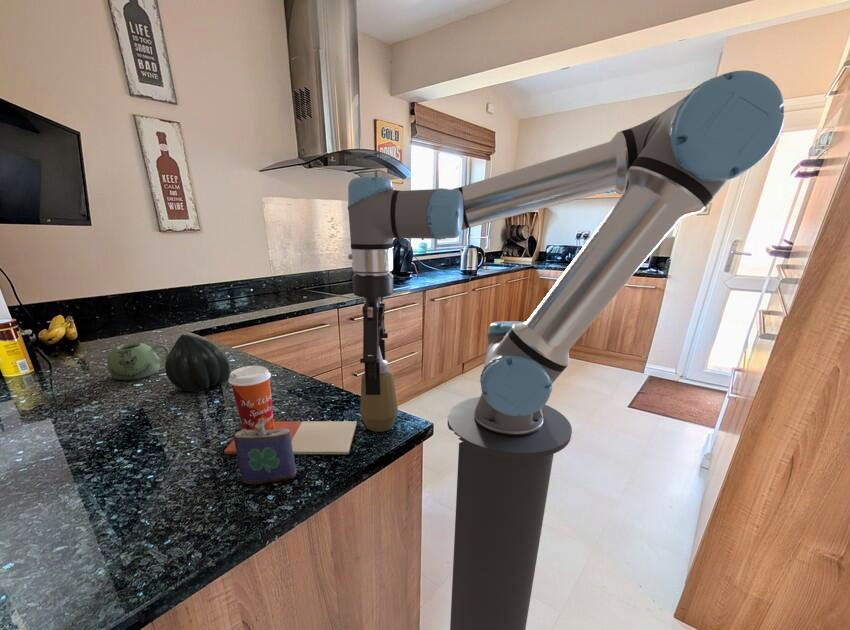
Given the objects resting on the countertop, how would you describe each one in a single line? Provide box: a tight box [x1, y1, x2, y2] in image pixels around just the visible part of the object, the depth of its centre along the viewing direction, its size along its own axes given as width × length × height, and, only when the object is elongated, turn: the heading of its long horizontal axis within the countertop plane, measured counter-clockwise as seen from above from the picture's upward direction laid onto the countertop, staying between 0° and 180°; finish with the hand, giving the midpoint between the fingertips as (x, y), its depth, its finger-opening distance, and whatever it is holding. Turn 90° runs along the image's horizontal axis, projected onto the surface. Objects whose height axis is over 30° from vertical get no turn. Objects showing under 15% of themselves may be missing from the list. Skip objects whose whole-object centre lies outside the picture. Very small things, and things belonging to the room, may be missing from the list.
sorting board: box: [223, 420, 358, 455], centre depth 80 cm, size 24×12×1 cm, turn 88°
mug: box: [106, 342, 170, 381], centre depth 114 cm, size 16×13×9 cm
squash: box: [164, 333, 231, 393], centre depth 104 cm, size 14×15×15 cm
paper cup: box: [228, 365, 275, 431], centre depth 77 cm, size 8×8×14 cm
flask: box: [233, 422, 297, 484], centre depth 66 cm, size 9×3×11 cm, turn 96°
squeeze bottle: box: [359, 347, 399, 433], centre depth 80 cm, size 8×8×18 cm
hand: (376, 380), depth 80 cm, fingers open, 13 cm apart
